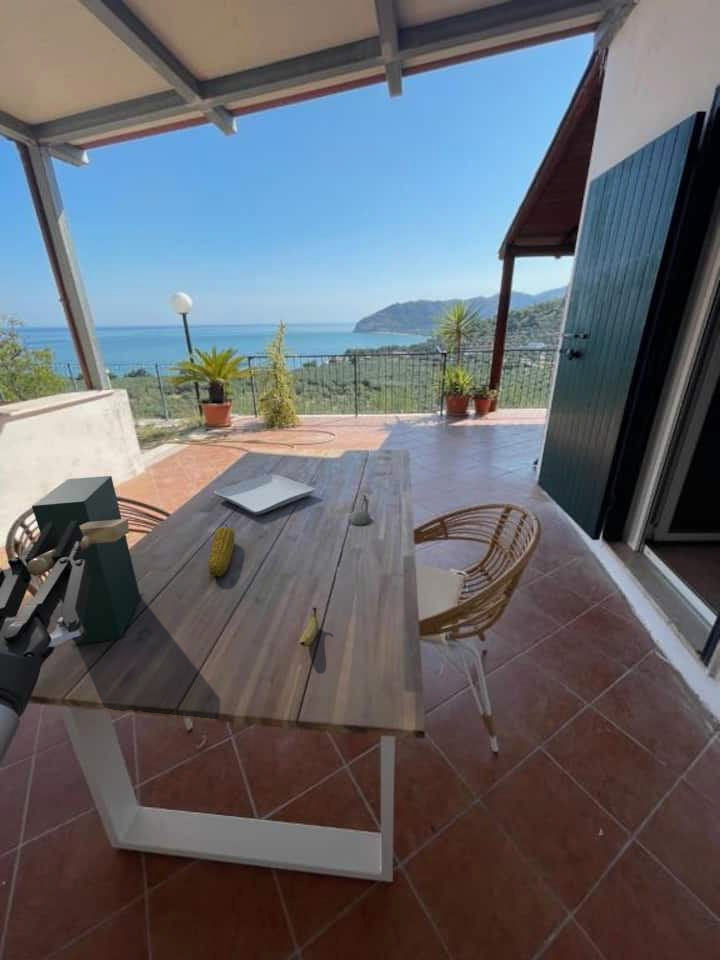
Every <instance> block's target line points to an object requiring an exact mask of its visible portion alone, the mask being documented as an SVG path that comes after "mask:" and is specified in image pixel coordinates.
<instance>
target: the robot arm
mask: <svg viewBox="0 0 720 960" xmlns="http://www.w3.org/2000/svg"><path fill="white" fill-rule="evenodd" d="M82 539H83V534H82V531H81V529H80V526H79V524H78V521H71V522H70V524H69V526H68V528H67V529H66V531H65V533H64V535H63V537H62V539H61V541H60V543H59V544H58V542H59V540H60V536H59V534H58V531H57V529H56V527H55V525H54V523H47V524H46V525H45V527H44V529H43V530H42V532H41V534H39V535H38V537H37V539H36V540H35V542H34V544H33V545H28V546H26V548H25V549H24V550H23V552H22V553H21V555H20V556H15V557H12V558H9V560H8V561H7V563H8V565H9V566H10V567H8V568H4V569H3V568H1V567H0V768H1V767H2V765H3V763H4V760H5V758H6V756H7V754H8V752H9V749H10V747H11V744H12V742H13V740H14V737H15V735H16V733H17V731H18V729H19V725H20V723H21V721H20V718H21V717H22V716H23V715H24V713H25V712H26V709H27V706H28V704H29V702H30V699H31V697H32V695H33V692H34V690H35V688H36V685H37V683H38V680H39V677H40V674H41V669H42V666H43V664H44V663H45V661H46V660H47V659H48V658H50V656H52V654H53V652H54V651H55V648H56V646H57V647H58V646H59V645H61V644H63V643H65V642H68V641H70V640H72V641H73V642H75V643H76V642H78V641H81V640H83V639H84V638H85V637H86V631H85V629H84V626H83V623H82V621H83V615H84V610H85V605H86V599H87V594H88V589H89V583H90V578H91V574H90V572H89V569H88V567H87V565H86V562H85V560H83V559H80V557H81V555H82V553H83V550H82V548H81V545H80V543H81V541H82ZM57 544H58V546H57ZM56 546H57V548H56ZM54 548H56V550H55V552H54V554H53V556H52V559H53V561H54V562H55V565H54V567H53V568H52V569H50V570H49V573H48V574H47V576H46V578H45V579H44V580H43V581H42V583H41V585H40V586H39V588H38V590H37V591H36V592H35V594H34V596H33V597H32V599H31V600H30V602H28V603H26V604H24V605H23V606H22V608H21V605H22V603H23V601H24V598H25V596H26V593H27V590H28V588H29V586H30V584H31V581H32V576H33V577H36V576H38V575H32V574H30V573H29V572H28V571H27V564H28V562H29V561H31V560H32V559H34V558H36V557H38V556H40V555H42V554H44V553H46V552H48V551H50V550H52V549H54ZM79 559H80V560H79ZM65 591H66V594H65V598H64V602H62V608H61V617H59V618H58V619H57V620H56V622H57V623H56V625H55V629H54V630H53V631H52V632H51V633H49V632H48V628H49V626H50V624H51V617H52V615H53V614H54V611H55V610H56V609H57V607H58V605H59V603H60V602H61V601H62V599H61V598H62V597H63V595H64V593H65ZM20 608H21V609H20Z"/></svg>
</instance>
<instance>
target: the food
mask: <svg viewBox="0 0 720 960" xmlns="http://www.w3.org/2000/svg"><path fill="white" fill-rule="evenodd" d="M234 543H235V533H234V530H233V528H231V527H229V526H220V527H219V528H218V529H216V531H215V533H214V534H213V542H212V545H211V550H210V554H209V555H210V556H209V560H208V570H209V573H210V575H211V576H213V577H214V578H217V577H221V576H223V575H224V574H225V572H226V571H227V570H228V567H229V565H230V563H231V559H232V556H233V551H234V546H235V545H234Z"/></svg>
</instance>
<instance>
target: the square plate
mask: <svg viewBox="0 0 720 960" xmlns="http://www.w3.org/2000/svg"><path fill="white" fill-rule="evenodd" d="M315 490H316V488H315V487H312V486H309V485H307V484H304V483H301V482H299V481H296V480H293V479H291V478H288V477H284V476H281V475H278V474H274V473H269V474H266V475H262V476H259V477H254V478H250V479H248V480H244V481H241V482H238V483H235V484H232V485H229V486H226V487H223V488H220V489H217V490H214V491H213V494H215V495H216V496H217V497H219V498H220V499H223V500H225V501H227V502H229V503H231V504H234V505H236V506H238V507H239V508H242V510H245V511H247V512H249V513H251V514H253V515H255V516H256V515H257V516H259V515H263V514H266V513H267V512H271V511H274V510H275V509H279V508H281V507H283V506H286V505H288V504H289V505H290V504H291V503H293V502H296V501H298V500H301V499H304V498H306V497H307V496H310V495H311V494H312V493H313V492H315Z"/></svg>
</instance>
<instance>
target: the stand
mask: <svg viewBox="0 0 720 960" xmlns="http://www.w3.org/2000/svg"><path fill="white" fill-rule="evenodd" d="M31 508H32V511H33V515H34V519H35V522H36V523H37V524H36V525H37V527H38V530H39V533H40V534H41V532H42V530H43V529H44V527H45V525H46V524H47V523H54V525H55V527H56V529H57V531H58V534H59V536H60V540H59V542H58V544H59V543H60V541H61V539H62V537H63V535H64V533H65V531H66V529H67V528H68V526H69V524H70V522H71V521H78V524H79V526H80V525H82V524H85V523H87V522H94V521H106V520H118V519H122V515H121V511H120V507H119V502H118V499H117V494H116V489H115V486H114V482H113V477H112V475H103V476H92V477H78V478H67V479H66V480H64V481H63V482H62V483H60V484H59V485H58V486H56V487H55V488H54V489H53V490H51V491H49V493H46V495H44V496H43V497H42V498H40V499H39V500H38V501H36V502H35V503H33V504H32V505H31ZM40 534H39V535H40ZM58 544H57V546H58ZM57 546H56V547H57ZM80 559H83V560H85V562H86V565H87V567H88V569H89V572H90V574H91V578H90V583H89V589H88V594H87V599H86V605H85V610H84V615H83V621H82V623H83V626H84V629H85V631H86V637H85V638H84V639H83V640H81V641H78V642H75V645H76V646H77V645H78V646H79V645H83V644H84V645H85V644H90V643H97V642H102V641H103V642H104V641H108V640H114V639H121V638H122V636H123V634H124V632H125V630H126V627H127V626H128V623H129V621H130V619H131V616H132V614H133V612H134V610H135V608H136V606H137V603H138V601H139V599H140V597H141V595H140V591H139V586H138V582H137V578H136V574H135V573H136V572H135V569H134V565H133V561H132V556H131V553H130V548H129V544H128V541H127V534H126V535H124V536H123V537H121V538H120V539H118V540H117V541H115V542H105V543H94V544H90V546H89V547H88V548H86V549H85V550H83V553H82V555H81V557H80ZM80 559H79V560H80ZM65 594H66V591H65V593H64V595H63V597H62V598H61V601H62V603H63V602H64V598H65Z"/></svg>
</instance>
